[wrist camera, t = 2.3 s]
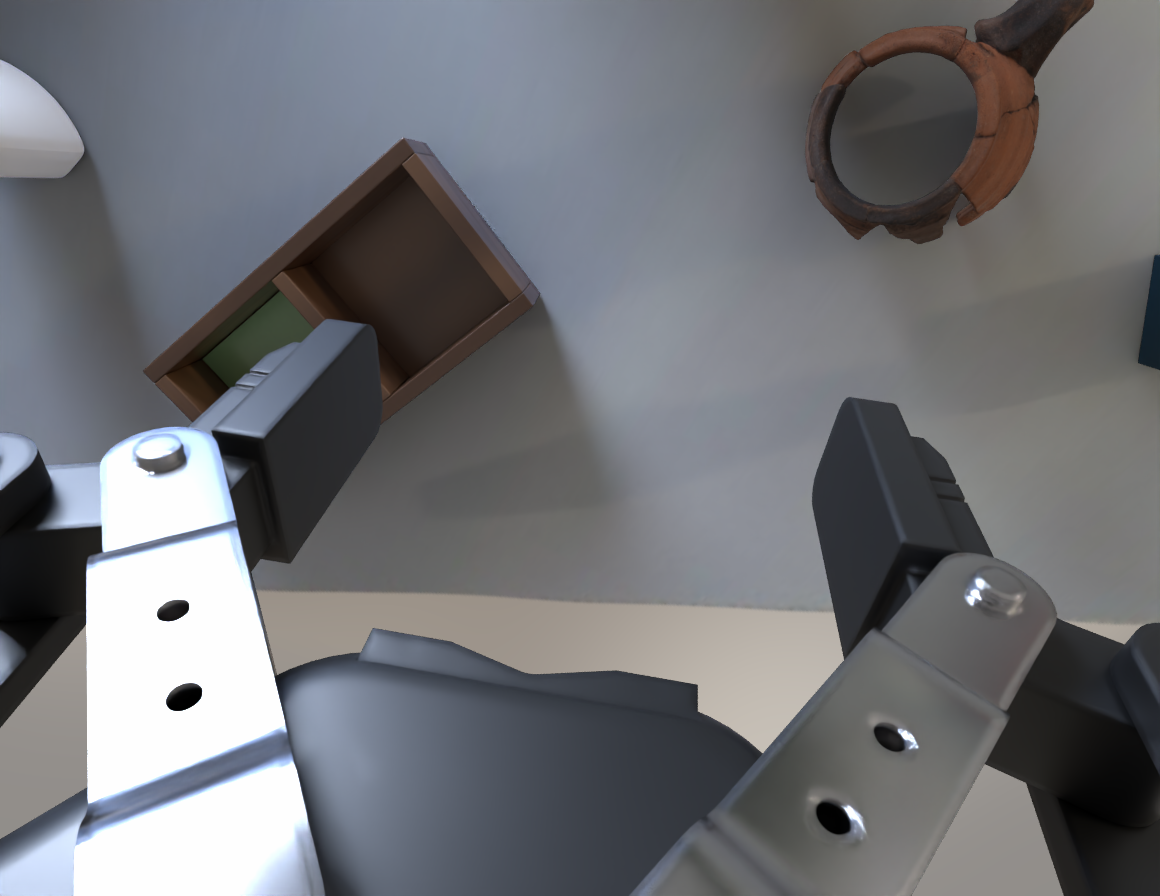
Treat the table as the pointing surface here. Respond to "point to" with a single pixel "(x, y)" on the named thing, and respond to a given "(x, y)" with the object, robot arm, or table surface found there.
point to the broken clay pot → (1003, 122)
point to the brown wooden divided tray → (364, 287)
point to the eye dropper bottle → (34, 130)
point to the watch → (1152, 322)
